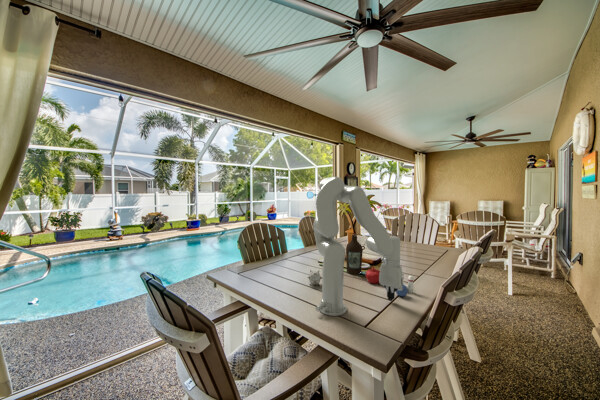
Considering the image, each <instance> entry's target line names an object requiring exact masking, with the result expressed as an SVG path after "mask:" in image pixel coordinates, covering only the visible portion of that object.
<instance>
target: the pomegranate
mask: <svg viewBox="0 0 600 400" xmlns="http://www.w3.org/2000/svg"><path fill="white" fill-rule="evenodd" d="M379 274H380V268H379V269H378V268H375V266H374V265H373V266H372V267H371V268H370V269H368V270H366V272H365V278H366V281H367V283H369V284H380V282H379Z"/></svg>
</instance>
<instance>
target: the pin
mask: <svg viewBox="0 0 600 400" xmlns="http://www.w3.org/2000/svg"><path fill="white" fill-rule="evenodd" d="M407 277H408V279H407V281H408V283H407V284H408V294H413V293H414V276H413V275H408V276H407Z"/></svg>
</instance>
